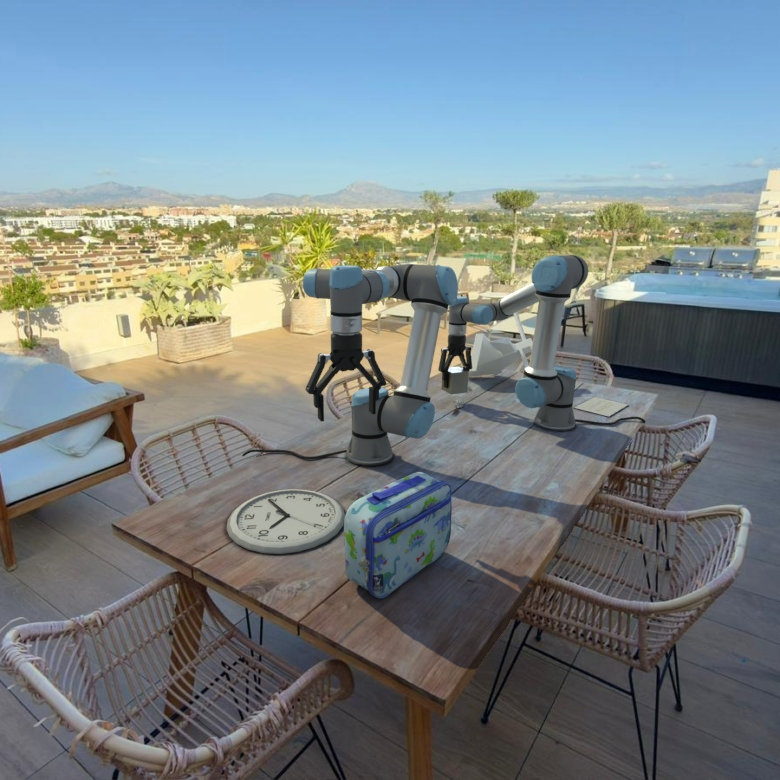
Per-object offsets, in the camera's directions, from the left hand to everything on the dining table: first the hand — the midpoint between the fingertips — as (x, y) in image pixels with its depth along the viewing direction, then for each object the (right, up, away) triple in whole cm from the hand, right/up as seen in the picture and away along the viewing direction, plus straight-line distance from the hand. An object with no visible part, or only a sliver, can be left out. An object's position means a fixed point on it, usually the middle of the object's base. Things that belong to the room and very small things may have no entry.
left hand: (347, 416), depth 131 cm
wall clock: (-16, -27, +5) cm, 32 cm away
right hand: (+39, +8, +95) cm, 102 cm away
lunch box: (+13, -34, -15) cm, 39 cm away
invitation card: (+102, -1, +95) cm, 140 cm away
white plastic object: (+65, +10, +126) cm, 142 cm away
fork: (+39, -2, +88) cm, 96 cm away
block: (+39, +6, +95) cm, 103 cm away
